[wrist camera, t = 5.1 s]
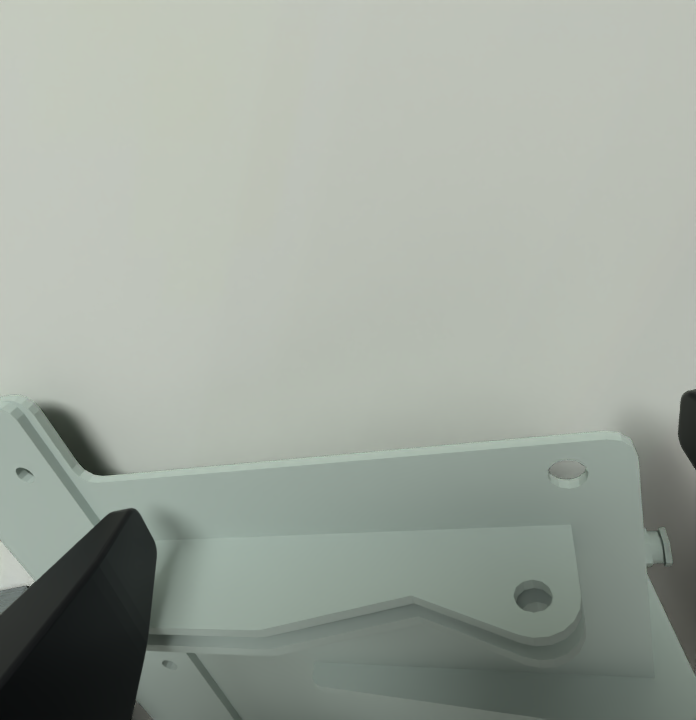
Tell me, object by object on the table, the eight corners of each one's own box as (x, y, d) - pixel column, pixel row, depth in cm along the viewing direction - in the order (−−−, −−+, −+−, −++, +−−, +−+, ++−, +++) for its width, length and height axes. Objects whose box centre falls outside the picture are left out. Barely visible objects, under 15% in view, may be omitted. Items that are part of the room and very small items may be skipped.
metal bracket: (783, 381, 5) (736, 979, 11) (636, 184, 9) (665, 691, 16) (-236, 490, 9) (164, 863, 16) (10, 324, 14) (239, 668, 21)
